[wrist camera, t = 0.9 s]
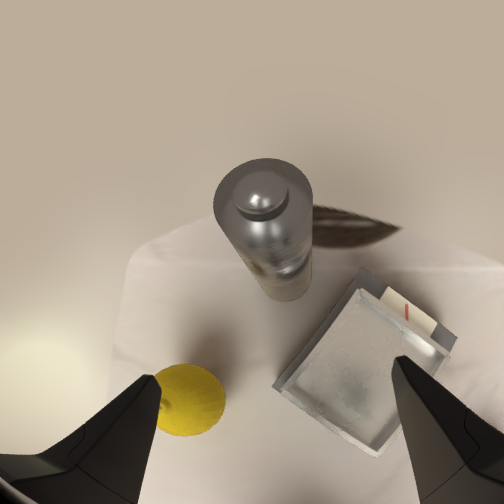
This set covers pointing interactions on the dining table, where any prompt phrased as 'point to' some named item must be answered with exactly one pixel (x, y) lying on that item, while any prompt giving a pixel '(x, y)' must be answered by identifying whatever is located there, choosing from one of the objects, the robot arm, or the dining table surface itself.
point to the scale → (364, 362)
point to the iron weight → (269, 223)
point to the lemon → (189, 400)
